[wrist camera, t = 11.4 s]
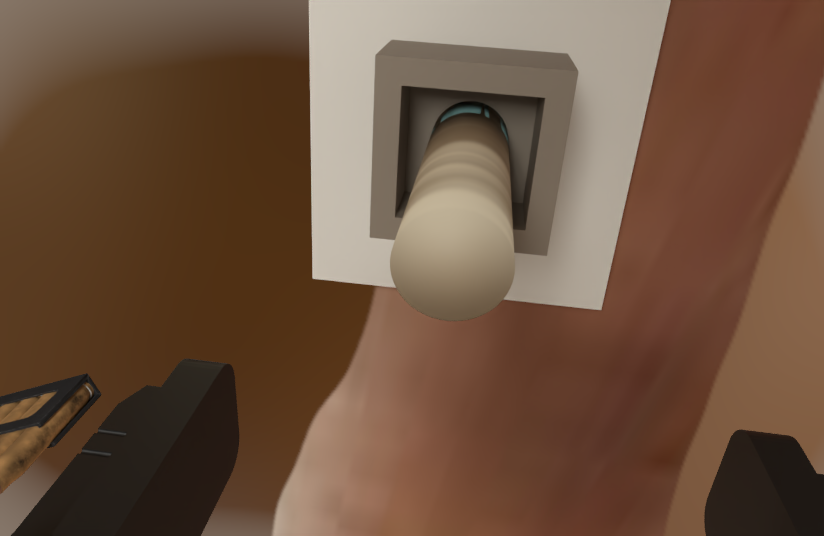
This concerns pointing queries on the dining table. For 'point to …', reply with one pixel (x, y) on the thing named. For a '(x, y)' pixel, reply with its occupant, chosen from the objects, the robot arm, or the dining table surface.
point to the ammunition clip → (39, 421)
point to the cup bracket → (507, 94)
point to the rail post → (458, 219)
